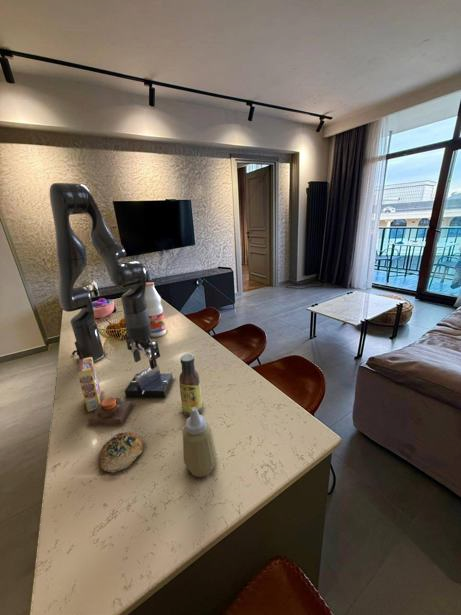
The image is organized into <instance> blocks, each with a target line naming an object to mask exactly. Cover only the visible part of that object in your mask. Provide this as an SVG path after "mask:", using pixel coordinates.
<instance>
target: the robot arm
mask: <svg viewBox="0 0 461 615" xmlns="http://www.w3.org/2000/svg"><path fill="white" fill-rule="evenodd" d="M49 202H50V208H51V212H52V218H53V223H54V224H53V225H54V230H55V242H56V261H57V267H58V277H59V278H58V279H59V280H58V300H59V305H60V307H61V309H62V310H63V311H64V312H66V313H67V312H68V313H70V312H75V311H78V313H77V314H76V315H74V316H73V317H72V318H71V319H70V325H71V328H72V332H73V335H74V337H75V341H74V346H75V350H73V351H72V353H71V355H72V356H75V354H76V355H77V356H78V359H79V360H81V359H85V358H89V357H92V359H93V363H94V362H98V361H100V360H102V359H104V357H105V355H106V354H105V351H104V346H103V343H102V339H101V336H100V333H99V328H98V324H97V321H96V318H95V313H94V309H93V304H92V302H93V299H92V295H91V293H90V291H89V289H88V287H87V286H84V285H80V286H75V284H76V282H77V281H78V279H79V278H80V277H81V275H82V274H83V273H84V271H85V269H86V267H87V262H88V261H87V248H86V245H85V243H84V242H83V241H82V240H81V238H80V237H79V236H78V235H77V234H76V233H75V231H74V230H73V228H72V226H71V224H70V216H71V215H86V216H87V217H88V219H89V220H90V240H91V244H92V246H93V248H95V250H96V252H97V253H98V254H99V256H100V257H101V258H102V259H103V262H104V265H105V267H106V269H107V272H108V276H109V279H110V281H111V283H112V284H113V285H114V286H116V287H118V288H122V289H123V288H128V287H130V288H129V290H127V291H126V292H124V293H123V294H122V295H121V297H120V299H121V305H122V309H123V318H124V324H125V329H126V335H125V342H126V347H127V350H128V351H130V352H131V354H132V356H133V360H134V362H135V363H138V362H140V361H141V360H142V357H141V352H142V353H143V355H144V356H146V357H147V359H148V362H149V367H150V368H151V369H154V368H156V367H157V364H158V362H157V359H159V358H160V357H161V353H160V348H159V343H158V341H152V340H151V336H150V335H151V326H150V320H149V315H148V311H147V307H146V302H145V289H146V283H147V278H148V275H147V269H146V267H145V266H144V264H143V262H140V261H138V260H132V261H128V262H122V261H123V260H125V258H126V256H127V252H126V250H125V248H124V246H123V245H122V243H121V242H120V241H119V239H118V238H117V237H116V235H115V234H114V233H113V231H112V230H111V228H110V227H109V225H108V223H107V221H106V218H105V217H104V215H103V213H102V211H101V209H100V207H99V205H98V203H97V201H96V199H95V198H94V196H93V193H92V192H91V191H90V190H89V188H88V187H87V186H86V185H84V184H82V183H76V182H75V183H74V182H73V183H72V182H70V183H69V182H54V183H52V184H50V186H49ZM121 262H122V263H121ZM74 286H75V287H74Z"/></svg>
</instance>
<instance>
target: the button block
mask: <svg viewBox="0 0 461 615" xmlns="http://www.w3.org/2000/svg"><path fill="white" fill-rule="evenodd" d="M114 398H115V400H116V403H117V404H116V406H115V407H114V408H113V409H110V410H103V407H102V402H103V401H104V400H101V403H100V405H99V406H98V407H97V409H96V410H93V412H92V414H90V417H89V418H88V422H89V425H101V426H102V425H107V426H108V425H109V426H111V425H115V426H116V425H117V426H119V425H120V426H121V425H122V424H123V423H124V422H125V420H126V418H127V416H128V415H129V413H130V411H131V409H132V407H133V403H132V400H122V399H121V398H119V397H114Z"/></svg>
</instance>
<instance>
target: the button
mask: <svg viewBox="0 0 461 615" xmlns="http://www.w3.org/2000/svg"><path fill="white" fill-rule="evenodd" d="M115 398H116V397H113V396H111V397H107V398H105V399H103V400H102V401H103V402H102V401H101V402H102V407H103V410H110V409H113V408H114V407H115V406H116V404H117V403H116V400H115Z"/></svg>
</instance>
